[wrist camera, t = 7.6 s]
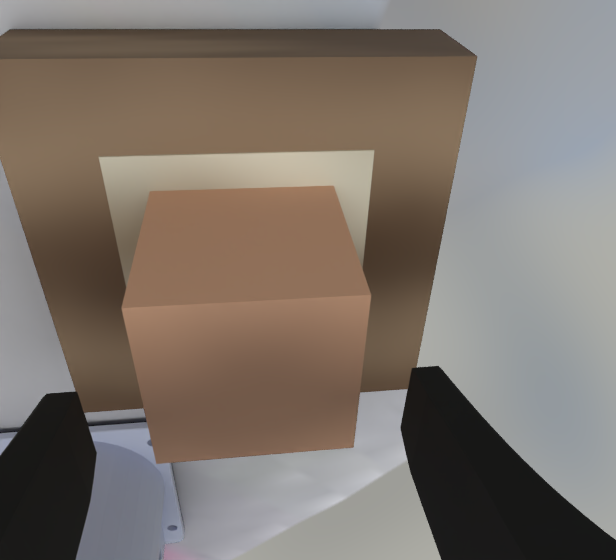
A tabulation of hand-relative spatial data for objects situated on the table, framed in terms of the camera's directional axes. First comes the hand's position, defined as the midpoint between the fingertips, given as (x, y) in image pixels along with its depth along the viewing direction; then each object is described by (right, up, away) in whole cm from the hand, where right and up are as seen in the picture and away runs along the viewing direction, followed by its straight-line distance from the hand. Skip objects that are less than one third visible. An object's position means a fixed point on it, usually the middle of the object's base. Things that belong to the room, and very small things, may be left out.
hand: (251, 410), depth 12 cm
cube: (-1, +3, +4) cm, 6 cm away
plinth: (-1, +5, +7) cm, 9 cm away
